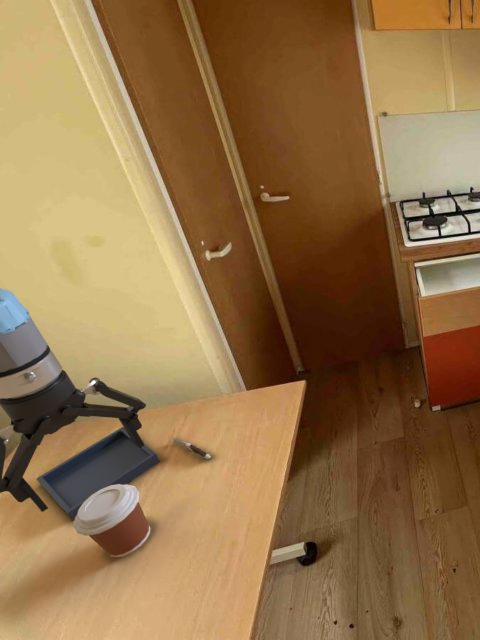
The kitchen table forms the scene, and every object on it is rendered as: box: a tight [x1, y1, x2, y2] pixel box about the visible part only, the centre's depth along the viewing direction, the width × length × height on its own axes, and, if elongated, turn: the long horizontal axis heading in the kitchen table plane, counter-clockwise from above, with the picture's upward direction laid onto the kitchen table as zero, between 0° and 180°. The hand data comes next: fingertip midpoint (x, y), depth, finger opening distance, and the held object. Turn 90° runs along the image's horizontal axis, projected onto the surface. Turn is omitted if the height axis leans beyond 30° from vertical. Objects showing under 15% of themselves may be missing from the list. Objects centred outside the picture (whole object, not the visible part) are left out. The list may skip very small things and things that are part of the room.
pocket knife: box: [172, 437, 211, 460], centre depth 100 cm, size 14×1×2 cm, turn 67°
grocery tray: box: [36, 426, 161, 522], centre depth 94 cm, size 16×16×3 cm
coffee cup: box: [73, 484, 151, 558], centre depth 79 cm, size 9×9×12 cm
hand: (94, 472), depth 74 cm, fingers open, 13 cm apart
